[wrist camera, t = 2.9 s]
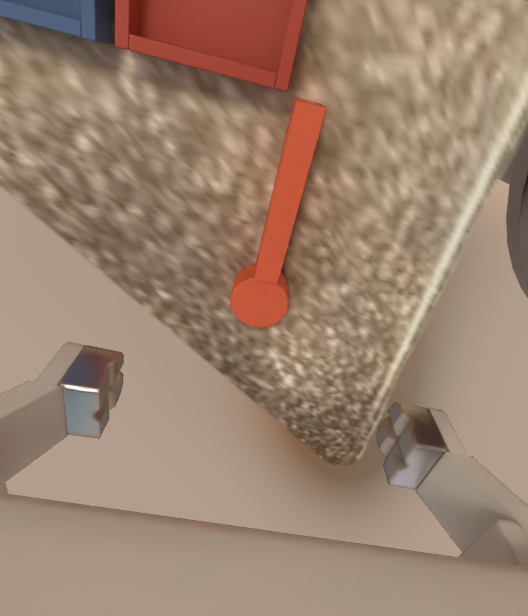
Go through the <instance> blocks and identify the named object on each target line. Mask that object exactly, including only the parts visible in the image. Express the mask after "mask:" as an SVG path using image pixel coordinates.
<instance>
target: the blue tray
mask: <svg viewBox="0 0 528 616" xmlns="http://www.w3.org/2000/svg"><path fill="white" fill-rule="evenodd" d="M0 16H1V17H5V18H8V19H12V20H16V21H20V22H24V23H27V24H31V25H35V26H39V27H43V28H46V29H50V30H54V31H58V32H61V33H65V34H69V35H73V36H77V37H80V38H84V39H88V40H92V41H96V42H102V43H108V44H112V0H0Z"/></svg>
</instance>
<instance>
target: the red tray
mask: <svg viewBox="0 0 528 616" xmlns="http://www.w3.org/2000/svg"><path fill="white" fill-rule="evenodd" d="M307 2H308V0H115V46H116V47H118V48H122V49H126V50H130V51H133V52H137V53H141V54H145V55H149V56H152V57H156V58H160V59H164V60H168V61H171V62H175V63H179V64H183V65H187V66H190V67H194V68H198V69H202V70H205V71H209V72H213V73H217V74H221V75H224V76H228V77H232V78H236V79H240V80H243V81H247V82H251V83H255V84H259V85H262V86H266V87H270V88H275V89H278V90H281V91H285V92H286V91H288V87H289V82H290V78H291V73H292V69H293V64H294V60H295V56H296V51H297V47H298V42H299V38H300V33H301V29H302V24H303V20H304V15H305V11H306V6H307Z"/></svg>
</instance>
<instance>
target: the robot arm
mask: <svg viewBox="0 0 528 616" xmlns="http://www.w3.org/2000/svg"><path fill="white" fill-rule="evenodd" d="M123 363H124V355H123V353H122V352H117V351H113V350H107V349H103V348H98V347H93V346H88V345H87V346H86V345H81V344H76V343H72V342H67V343H66V344H64V345H63V346H62V347H61V349H60V350H59V351H58V352H57V354H56V355H55V356H54V357H53V359H52V360H51V362H50V363H49V364H48V365H47V367H46V368H45V369H44V370H43V372H42V373H41V374H40V375H39V377H38V378H37V379H36V380H35V381H27V382H25V383H23V384H20V385H18V386H16V387H14V388H12V389H10V390H7V391H5V392H3V393H1V394H0V616H528V505H527V504H526V503H524V502H523V501H522V500H521V499H520V498H519V497H518V496H517V495H515V494H514V493H513V492H512V491H511V490H510V489H509V488H507V487H506V486H505V485H504V484H503V483H502V482H501V481H500V480H499V479H497V478H496V477H495V476H494V475H493V474H492V473H491V472H490V471H488V470H487V469H486V468H485V467H484V466H483V465H482V464H480V463H479V462H478V461H477V460H476V459H475V458H474V457H473V456H468V455H467V453H466V451H465V450H464V448H463V446H462V444H461V442H460V440H459V438H458V436H457V434H456V432H455V430H454V428H453V426H452V424H451V422H450V420H449V419H448V417H447V415H446V413H445V412H444V411H443V410H439V409H433V408H425V407H420V406H414V405H408V404H403V403H396V402H395V403H393V404H392V405H391V406H390V408H389V409H388V413H389V417H387V418H385V419H384V420H382V422H381V423H380V425H379V427H378V431H377V445H378V449H379V451H380V453H381V454H382V455H383V456H384V457H385V458H386V459H385V461H384V463H383V467H384V470H385V474H386V477H387V481H388V484H389V485H394V486H399V487H404V488H410V489H414V490H416V493H417V494H418V495H419V496H420V498H421V499H422V500H423V502H424V503H425V504H426V506H427V507H428V508H429V509H430V511H431V512H432V513H433V515H434V516H435V517H436V519H437V520H438V521H439V523H440V524H441V525H442V526H443V528H444V529H445V530H446V532H447V533H448V534H449V536H450V537H451V538H452V539H453V541H454V542H455V543H456V545H457V546H458V547H459V549H460V550H461V551H462V554H461V555H460V556H459V557H452V556H445V555H438V554H431V553H424V552H417V551H410V550H403V549H396V548H389V547H381V546H374V545H366V544H360V543H353V542H346V541H338V540H331V539H323V538H317V537H310V536H302V535H295V534H288V533H281V532H273V531H266V530H260V529H252V528H246V527H238V526H232V525H224V524H218V523H210V522H203V521H196V520H189V519H182V518H175V517H168V516H160V515H153V514H147V513H139V512H132V511H125V510H118V509H111V508H104V507H97V506H90V505H83V504H76V503H68V502H61V501H53V500H47V499H40V498H33V497H26V496H18V495H12V494H8V491H7V487H6V483H5V482H6V481H7V480H9V479H10V478H11V477H13V476H14V475H15V474H17V473H18V472H19V471H21V470H22V469H23V468H25V467H26V466H27V465H29V464H30V463H32V462H33V461H34V460H36V459H37V458H38V457H40V456H41V455H42V454H44V453H45V452H46V451H48V450H49V449H51V448H52V447H53V446H54V445H56V444H57V443H59V442H60V441H61V440H63V439H64V438H65V437H67V435H75V436H82V437H90V438H100V437H101V435H102V433H103V431H104V429H105V427H106V425H107V423H108V420H109V410H111V409H112V408H114V407H115V406H116V404H117V401H118V399H119V396H120V393H121V390H122V384H123V374H122V373H121V371H120V369H121V367H122V365H123Z"/></svg>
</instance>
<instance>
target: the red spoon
mask: <svg viewBox="0 0 528 616" xmlns="http://www.w3.org/2000/svg"><path fill="white" fill-rule="evenodd" d="M325 112H326V108H325V107H324V106H322V105H321V104H318V103H314V102H310V101H307V100H303V99H299V98H294V102H293V107H292V111H291V115H290V119H289V124H288V128H287V132H286V136H285V141H284V145H283V149H282V154H281V158H280V162H279V166H278V171H277V175H276V179H275V183H274V188H273V192H272V196H271V200H270V205H269V209H268V213H267V217H266V222H265V226H264V230H263V234H262V239H261V243H260V247H259V251H258V256H257V260H256V264H253V265H250V266H248V267H245V268H244V269H242V270H241V271H240V272H239V273H238V275H237V276H236V278H235V280H234V284H233V288H232V293H231V297H230V305H231V309H232V311H233V313H234V315H235V316H236V317H237V318H238V319H239V320H240V321H241V322H243V323H244V324H246V325H249V326H252V327H268V326H271V325H274V324H276V323H278V322H279V321H280V320H281V319H282V318H283V317H284V316H285V314H286V313H287V310H288V306H289V294H288V283H287V280H286V278H285V276H284V275H283V274H282V273H281V269H282V266H283V262H284V259H285V255H286V251H287V248H288V244H289V241H290V237H291V234H292V230H293V226H294V223H295V219H296V216H297V212H298V209H299V205H300V201H301V198H302V194H303V191H304V187H305V184H306V180H307V176H308V173H309V169H310V166H311V162H312V159H313V155H314V151H315V148H316V144H317V141H318V137H319V134H320V130H321V126H322V123H323V119H324V116H325Z"/></svg>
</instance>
